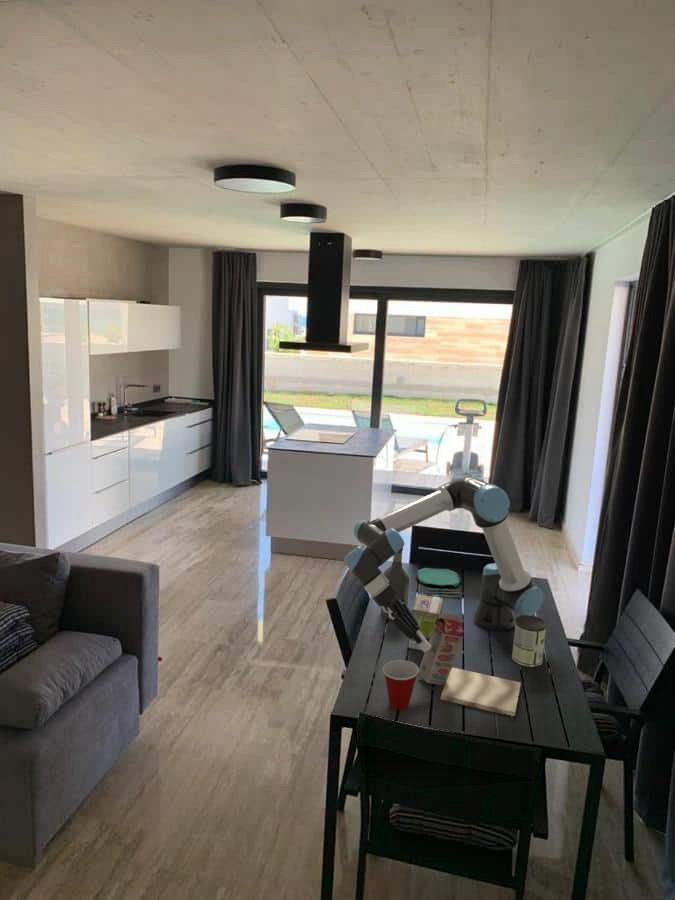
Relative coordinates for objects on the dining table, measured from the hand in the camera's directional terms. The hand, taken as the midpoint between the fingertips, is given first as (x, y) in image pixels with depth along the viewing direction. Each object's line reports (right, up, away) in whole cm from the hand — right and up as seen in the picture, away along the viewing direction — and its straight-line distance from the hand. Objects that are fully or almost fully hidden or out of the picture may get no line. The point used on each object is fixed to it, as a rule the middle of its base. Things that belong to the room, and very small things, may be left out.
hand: (428, 649), depth 212 cm
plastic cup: (-11, -13, -12) cm, 21 cm away
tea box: (+3, -6, +29) cm, 30 cm away
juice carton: (+1, -10, +2) cm, 10 cm away
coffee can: (+37, -10, +20) cm, 43 cm away
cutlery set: (+16, +3, +83) cm, 85 cm away
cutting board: (+16, -13, -3) cm, 21 cm away
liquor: (-7, -2, +49) cm, 49 cm away
